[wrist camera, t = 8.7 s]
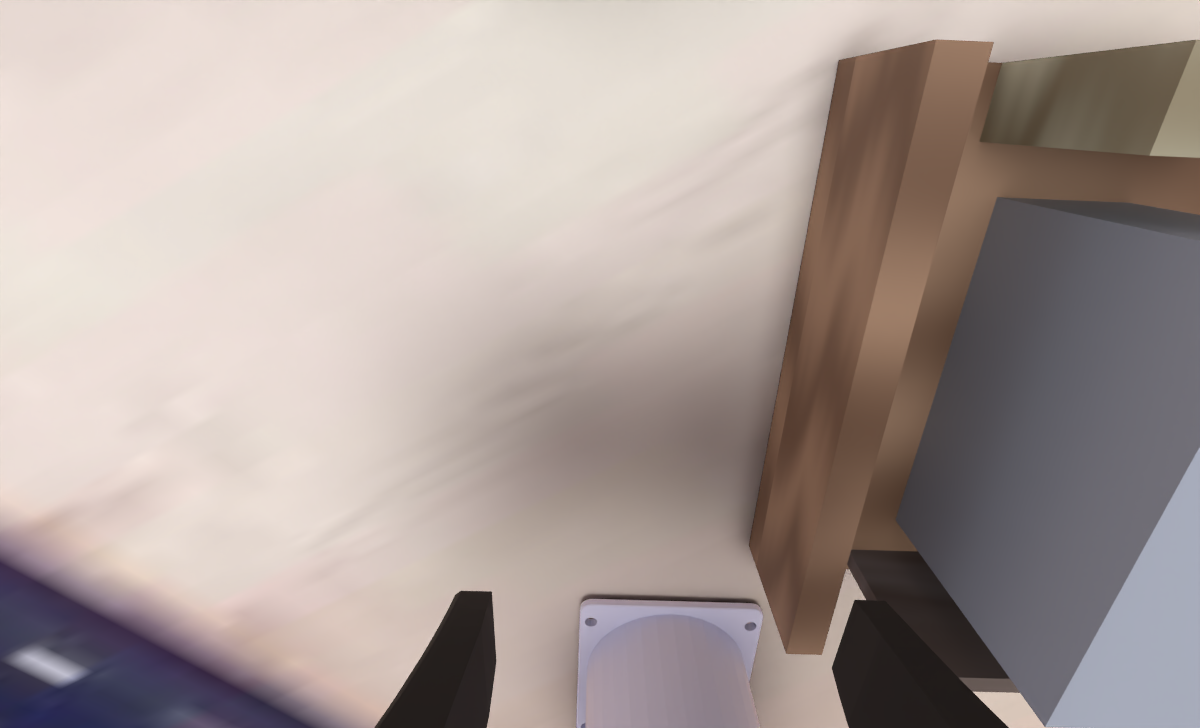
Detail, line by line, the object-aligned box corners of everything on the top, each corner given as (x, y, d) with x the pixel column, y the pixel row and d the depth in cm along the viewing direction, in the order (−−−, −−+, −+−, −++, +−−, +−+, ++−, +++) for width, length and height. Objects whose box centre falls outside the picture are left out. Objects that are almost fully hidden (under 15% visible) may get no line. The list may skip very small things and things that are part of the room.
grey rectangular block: (1129, 202, 17) (1530, 272, 10) (998, 523, 22) (1199, 731, 15) (997, 197, 17) (1301, 263, 10) (895, 520, 22) (1044, 726, 14)
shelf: (1077, 555, 24) (1241, 707, 18) (748, 545, 24) (800, 695, 18) (1311, 80, 17) (1723, 63, 11) (839, 60, 16) (980, 29, 10)
